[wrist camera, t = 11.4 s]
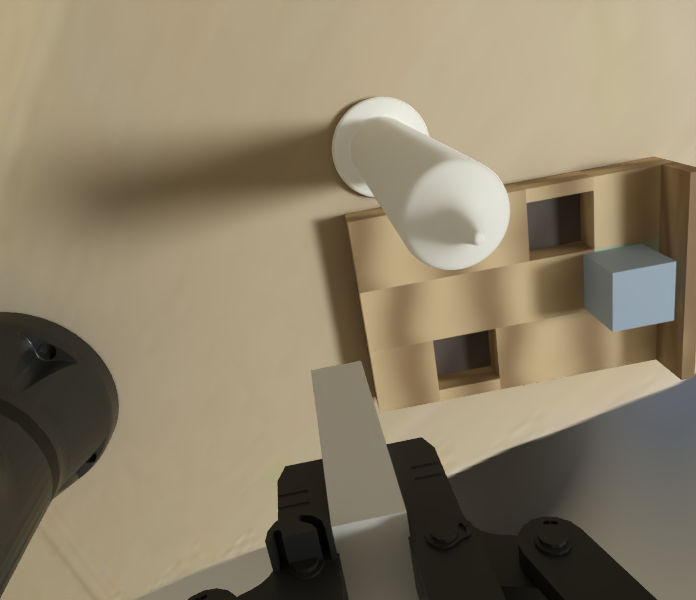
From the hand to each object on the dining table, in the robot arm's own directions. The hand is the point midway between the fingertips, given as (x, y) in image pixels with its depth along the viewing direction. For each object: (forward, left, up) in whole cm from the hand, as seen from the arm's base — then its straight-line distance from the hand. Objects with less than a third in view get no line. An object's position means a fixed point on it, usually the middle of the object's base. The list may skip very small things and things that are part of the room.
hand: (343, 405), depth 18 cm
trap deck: (+14, -9, -29) cm, 34 cm away
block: (+22, -9, -27) cm, 35 cm away
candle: (+6, +3, -29) cm, 30 cm away
